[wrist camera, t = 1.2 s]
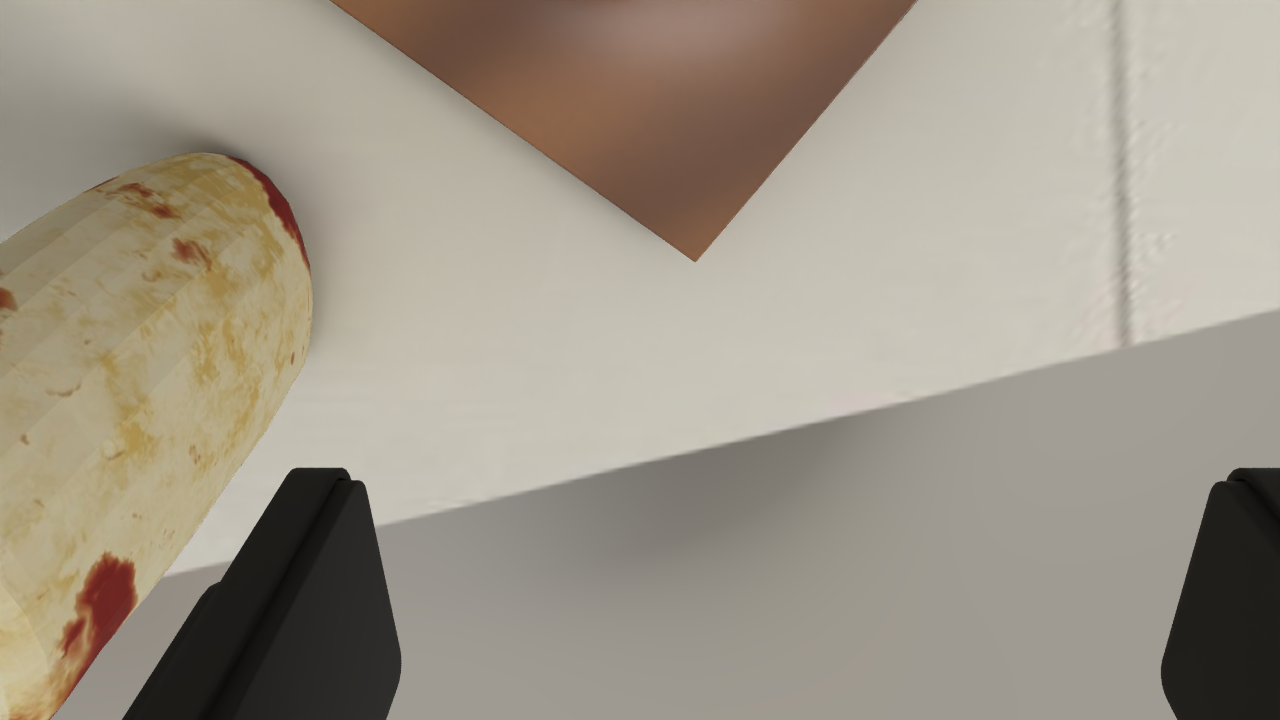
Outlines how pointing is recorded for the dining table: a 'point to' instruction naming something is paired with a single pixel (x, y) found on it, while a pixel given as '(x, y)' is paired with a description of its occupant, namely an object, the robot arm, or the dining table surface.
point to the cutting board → (647, 87)
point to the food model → (131, 395)
